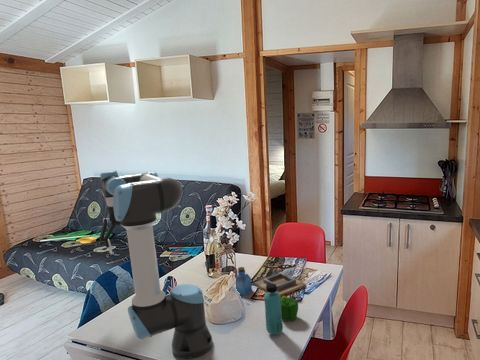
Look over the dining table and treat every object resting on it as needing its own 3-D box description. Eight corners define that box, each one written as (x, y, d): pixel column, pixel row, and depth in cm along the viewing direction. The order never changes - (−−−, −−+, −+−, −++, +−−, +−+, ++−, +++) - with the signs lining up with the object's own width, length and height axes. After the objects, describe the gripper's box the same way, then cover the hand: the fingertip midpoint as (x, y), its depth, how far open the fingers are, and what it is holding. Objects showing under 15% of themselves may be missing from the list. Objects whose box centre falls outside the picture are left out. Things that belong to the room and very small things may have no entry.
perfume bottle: (251, 290, 179) (250, 266, 177) (245, 295, 174) (243, 271, 172) (241, 287, 182) (239, 264, 180) (234, 293, 177) (232, 269, 175)
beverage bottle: (278, 340, 138) (275, 290, 134) (263, 335, 141) (259, 287, 138) (286, 330, 143) (283, 283, 140) (271, 326, 147) (267, 280, 143)
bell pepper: (298, 312, 156) (297, 290, 154) (299, 323, 148) (298, 300, 146) (278, 312, 157) (276, 291, 155) (278, 323, 148) (277, 300, 147)
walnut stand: (305, 286, 178) (305, 280, 177) (276, 298, 169) (276, 291, 168) (282, 274, 193) (282, 268, 192) (254, 285, 184) (253, 278, 183)
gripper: (139, 196, 177) (148, 238, 181) (85, 211, 163) (96, 255, 167) (144, 198, 171) (153, 241, 174) (89, 213, 157) (100, 259, 161)
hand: (125, 248), depth 171 cm, fingers open, 13 cm apart
